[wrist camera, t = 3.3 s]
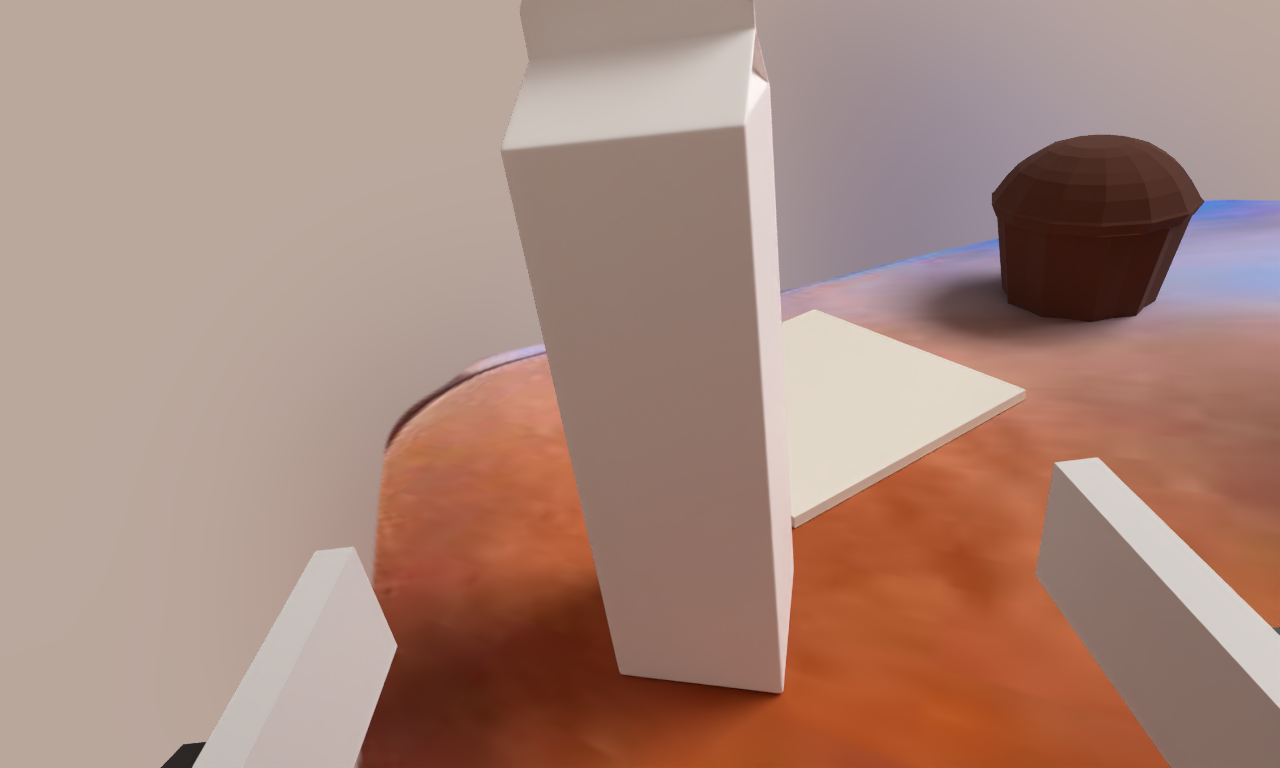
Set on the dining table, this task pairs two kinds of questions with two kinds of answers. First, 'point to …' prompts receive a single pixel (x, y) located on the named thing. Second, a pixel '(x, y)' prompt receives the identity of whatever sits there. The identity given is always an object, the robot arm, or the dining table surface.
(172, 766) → the robot arm
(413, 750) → the dining table surface
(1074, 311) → the muffin
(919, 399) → the mat
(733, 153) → the milk
